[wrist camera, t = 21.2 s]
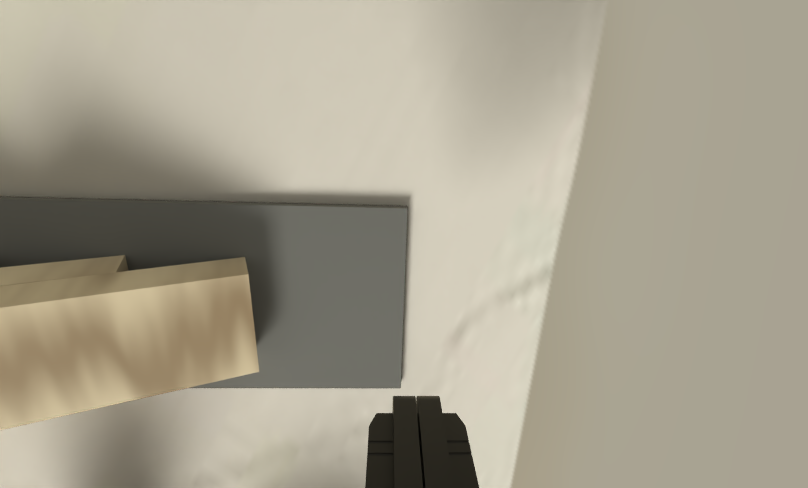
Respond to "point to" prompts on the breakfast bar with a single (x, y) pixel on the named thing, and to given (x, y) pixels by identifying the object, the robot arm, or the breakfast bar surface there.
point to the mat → (253, 272)
